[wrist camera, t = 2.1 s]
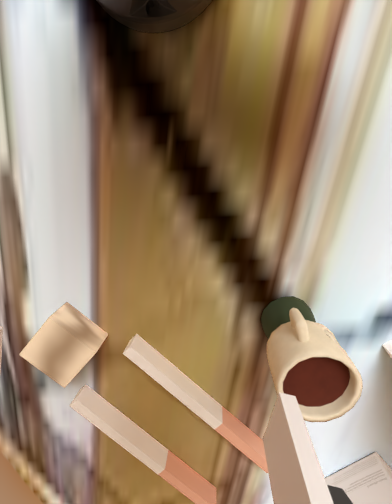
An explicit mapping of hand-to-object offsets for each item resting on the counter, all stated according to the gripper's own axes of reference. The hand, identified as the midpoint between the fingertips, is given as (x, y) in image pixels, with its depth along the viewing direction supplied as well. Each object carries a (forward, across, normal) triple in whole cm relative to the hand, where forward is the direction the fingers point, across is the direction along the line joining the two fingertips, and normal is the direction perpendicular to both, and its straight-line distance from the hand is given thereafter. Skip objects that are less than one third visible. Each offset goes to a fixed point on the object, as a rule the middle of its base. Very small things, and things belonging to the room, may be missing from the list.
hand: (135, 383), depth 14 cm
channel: (+23, +4, -25) cm, 34 cm away
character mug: (+24, +14, -5) cm, 28 cm away
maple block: (+24, -13, -15) cm, 31 cm away
